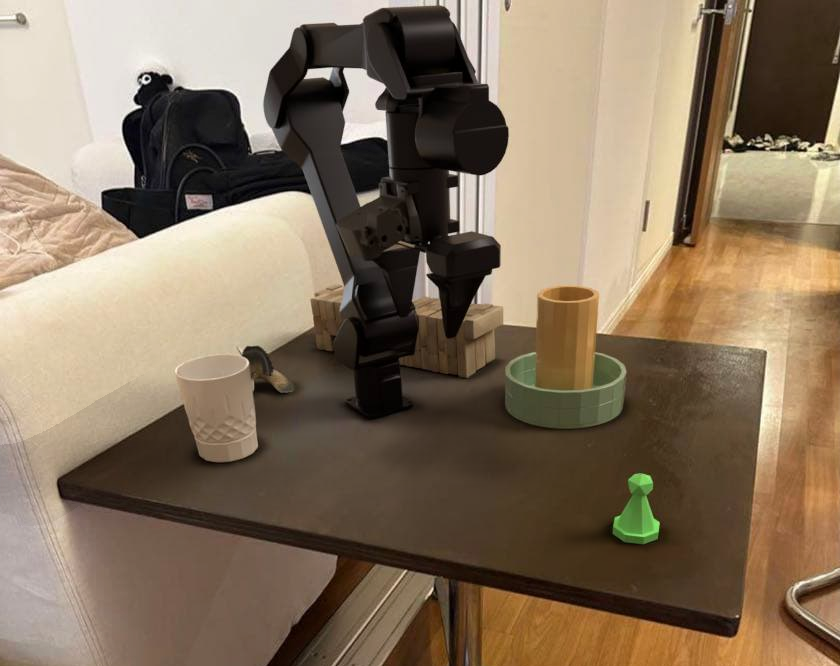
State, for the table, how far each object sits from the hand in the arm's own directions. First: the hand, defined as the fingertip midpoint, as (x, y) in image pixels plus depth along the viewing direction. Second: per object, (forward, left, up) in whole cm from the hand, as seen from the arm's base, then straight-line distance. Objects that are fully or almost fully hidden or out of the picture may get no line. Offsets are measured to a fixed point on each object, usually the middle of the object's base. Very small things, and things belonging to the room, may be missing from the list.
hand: (426, 326), depth 83 cm
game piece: (+28, +4, -13) cm, 31 cm away
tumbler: (+2, +18, -12) cm, 22 cm away
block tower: (-26, +12, -13) cm, 32 cm away
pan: (+2, +18, -13) cm, 22 cm away
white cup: (-12, -20, -13) cm, 27 cm away
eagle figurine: (-27, -10, -13) cm, 32 cm away
